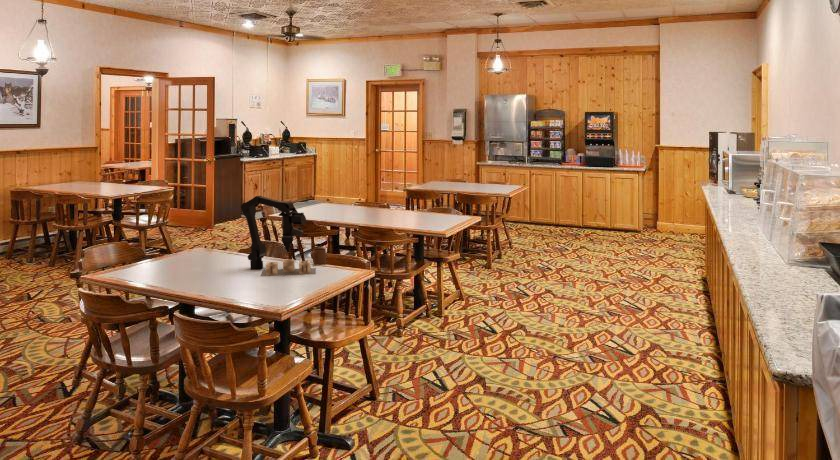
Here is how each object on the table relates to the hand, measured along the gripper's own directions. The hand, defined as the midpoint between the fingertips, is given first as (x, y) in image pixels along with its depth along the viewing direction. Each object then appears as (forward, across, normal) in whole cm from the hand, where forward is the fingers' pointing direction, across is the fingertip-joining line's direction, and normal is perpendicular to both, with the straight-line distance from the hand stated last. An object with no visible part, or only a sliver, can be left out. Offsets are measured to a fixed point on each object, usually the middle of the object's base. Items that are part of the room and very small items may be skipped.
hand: (288, 251), depth 345 cm
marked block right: (+11, -6, -9) cm, 16 cm away
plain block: (+11, 0, 0) cm, 11 cm away
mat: (+12, -3, 0) cm, 12 cm away
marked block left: (+11, -6, +9) cm, 16 cm away
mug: (+12, +16, -16) cm, 26 cm away
